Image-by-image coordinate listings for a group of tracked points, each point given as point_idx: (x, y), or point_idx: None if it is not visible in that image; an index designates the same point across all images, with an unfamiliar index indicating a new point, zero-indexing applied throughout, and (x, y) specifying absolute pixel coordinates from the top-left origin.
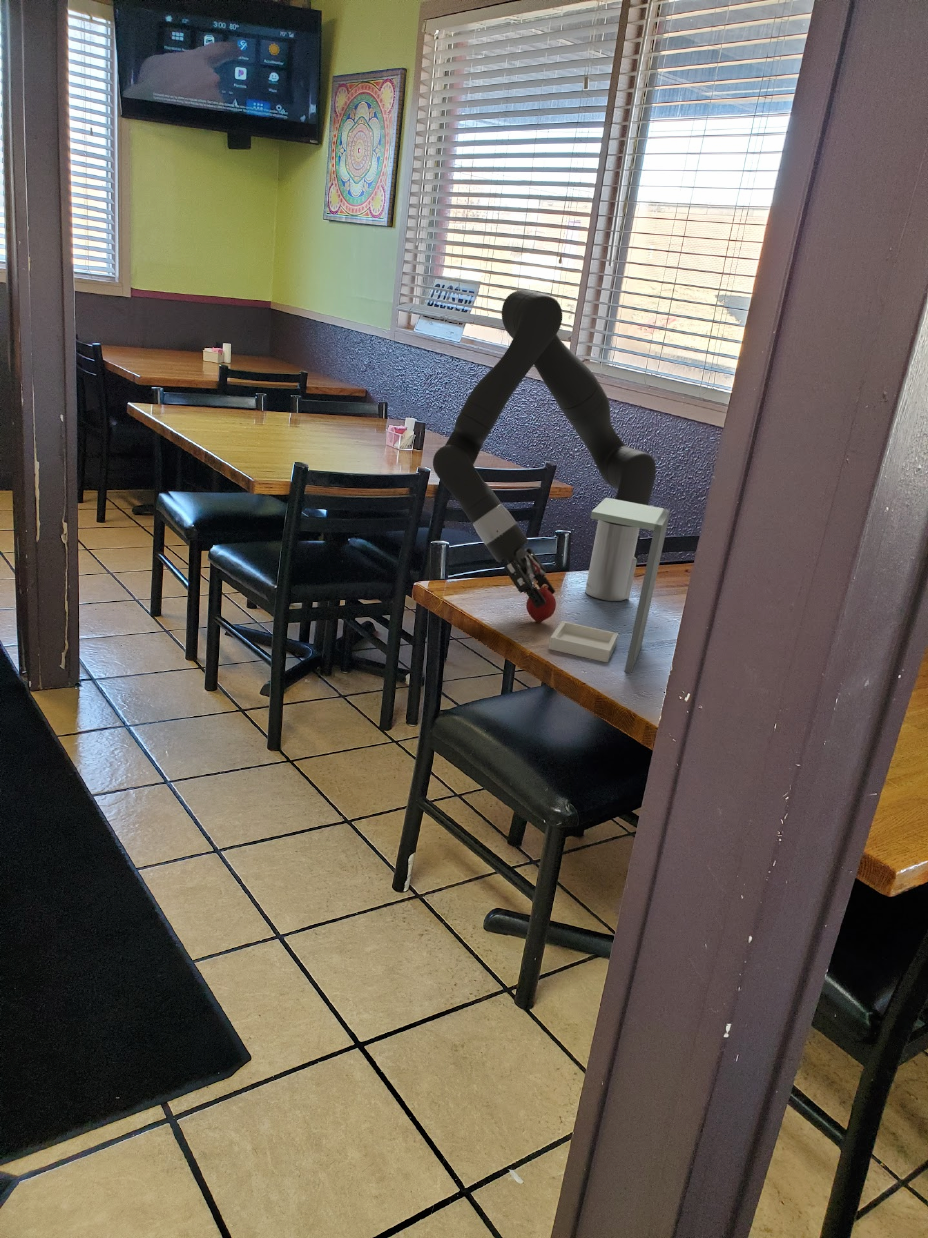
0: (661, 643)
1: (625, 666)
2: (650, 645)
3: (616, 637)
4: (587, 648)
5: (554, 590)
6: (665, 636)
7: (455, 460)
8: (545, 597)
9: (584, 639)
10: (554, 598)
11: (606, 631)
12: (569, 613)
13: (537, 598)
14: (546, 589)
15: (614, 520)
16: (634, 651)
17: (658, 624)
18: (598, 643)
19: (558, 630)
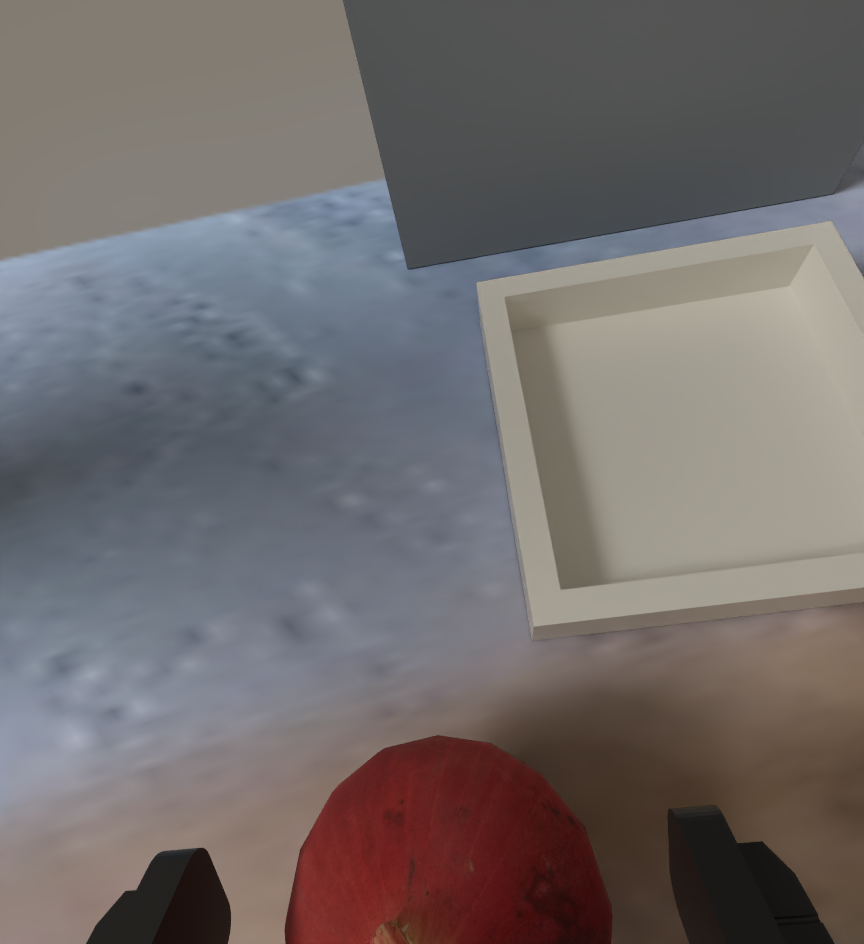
0: (297, 209)
1: (845, 171)
2: (360, 228)
3: (559, 268)
4: None
5: (173, 858)
6: (188, 224)
7: None
8: (537, 869)
9: (594, 453)
10: (398, 775)
11: (500, 335)
12: (91, 717)
13: (818, 938)
14: (436, 926)
15: None
16: None
17: (32, 288)
18: (590, 375)
19: (797, 573)
